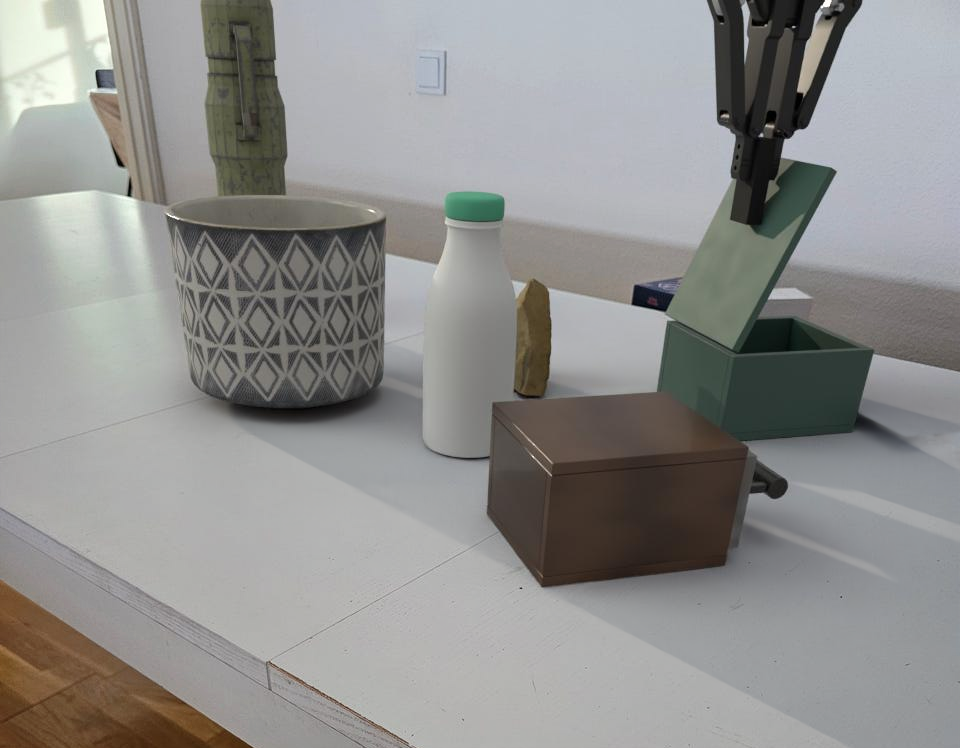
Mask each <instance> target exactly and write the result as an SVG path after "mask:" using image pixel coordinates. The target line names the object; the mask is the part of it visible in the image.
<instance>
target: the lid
mask: <svg viewBox="0 0 960 748" xmlns="http://www.w3.org/2000/svg"><path fill="white" fill-rule="evenodd" d="M837 172H838V170H836V169H834V168H833V167H831V166H826V165H821V164H817V163H816V164H815V163H811V162H807V161H806V162H805V161H802V160H801V161H800V160H795V159H790V158H785V157H781V159H780V165H779V170H778V174H777V176H776V178H775V180H769V185H768V190H767V196H766V201H765V206H764V212H763V217H762V222H761V225H745V224H742V223H738V222H735V221H732V220H730V215H731V209H732V204H733V198H734V192H735V186H736V180H737V179H733V178H732V180H731V182H730V184H729V185H728V187H727V190H726V191H725V194H724V196H723V197H722V200H721V202H720V204H719V205H718V208H717V210H716V211H715V213H714V216H713V218H711V219H712V220H711V221H710V223H709V225H708V227H707V229H706V231H705V233H704V235H703V238H702V239H701V241H700V243H699V245H698V248H697V249H696V251H695V253H694V255H693V257H692V259H691V261H690V262H689V265H688V267H687V269H686V271H685V273H684V275H683V277H682V279H681V281H680V283H679V285H678V287H677V289H676V291H675V293H674V295H673V297H672V299H671V301H670V303H669V305H668V307H667V309H666V311H665V312H664V315H665V316H667V317H669V318H670V319H672V320H673V321H674V320H676V321H678V322H680V323H682V324H684V325H686V326H687V327H689V328H691V329H693V330H695V331H697V332H699V333H701V334H703V335H705V336H706V337H708V338H710V339H712V340H714V341H716V342H718V343H720V344H722V345H723V346H725V347H727V348H729V349H731V350H733V351H735V352H737V353H739V351H740V349H741V348H742V346H743V344H744V342H745V340H746V338H747V337H748V335H749V333H750V331H751V329H752V327H753V325H754V324H755V322H756V320H757V318H758V317H760V314H761V313H762V311H763V309H764V308H765V305H766V303H767V302H768V300H769V298H770V296H771V295H772V292H773V291H774V289H775V287H776V286H777V283H778V281H779V279H780V278H781V276H782V274H783V273H784V270H785V268H786V266H787V265H788V263H789V262H790V260H791V257H792V255H793V253H794V252H795V250H796V249H797V247H798V245H799V243H800V241H801V240H802V237H803V235H804V234H805V232H806V230H807V228H808V226H809V225H810V224H811V223H810V222H811V221H812V219H813V217H814V215H815V213H816V211H817V210H818V208H819V206H820V204H821V203H822V201H823V199H824V197H825V195H826V193H827V191H828V189H829V187H830V186H831V184H832V182H833V181H834V179H835V176H836V175H837Z"/></svg>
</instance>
